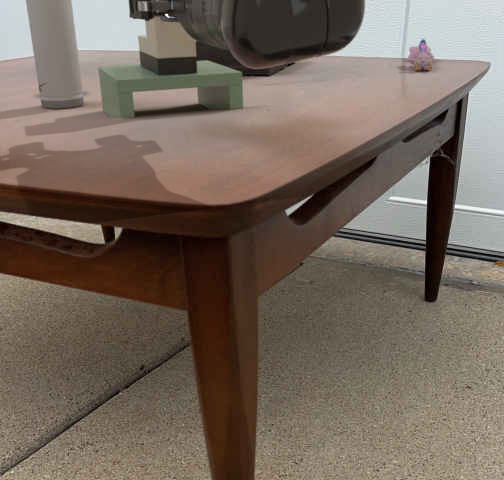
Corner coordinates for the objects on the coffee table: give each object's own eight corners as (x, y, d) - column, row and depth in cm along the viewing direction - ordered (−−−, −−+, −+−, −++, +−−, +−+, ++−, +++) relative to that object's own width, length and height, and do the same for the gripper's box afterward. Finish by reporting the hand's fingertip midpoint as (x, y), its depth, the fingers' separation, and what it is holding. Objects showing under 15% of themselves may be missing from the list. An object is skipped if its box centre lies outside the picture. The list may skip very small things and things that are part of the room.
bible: (318, 62, 148) (319, 13, 144) (261, 78, 127) (260, 20, 123) (224, 59, 158) (222, 13, 154) (156, 73, 137) (152, 20, 133)
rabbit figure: (439, 79, 130) (433, 57, 142) (443, 47, 127) (436, 27, 139) (405, 79, 131) (402, 57, 143) (408, 47, 128) (404, 27, 140)
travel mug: (35, 109, 101) (11, -43, 92) (48, 102, 107) (28, -42, 98) (77, 109, 101) (57, -44, 92) (88, 101, 107) (71, -43, 98)
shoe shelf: (121, 130, 85) (116, 80, 83) (102, 110, 99) (98, 66, 97) (243, 120, 90) (242, 72, 88) (209, 102, 104) (207, 60, 101)
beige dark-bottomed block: (158, 75, 86) (152, -12, 82) (140, 65, 96) (133, -13, 92) (197, 73, 88) (192, -13, 83) (175, 63, 98) (170, -14, 94)
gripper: (294, -40, 66) (240, -36, 79) (147, -38, 61) (117, -34, 75) (294, 44, 69) (242, 34, 83) (154, 51, 64) (123, 39, 78)
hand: (182, 2), depth 79 cm, fingers open, 8 cm apart
